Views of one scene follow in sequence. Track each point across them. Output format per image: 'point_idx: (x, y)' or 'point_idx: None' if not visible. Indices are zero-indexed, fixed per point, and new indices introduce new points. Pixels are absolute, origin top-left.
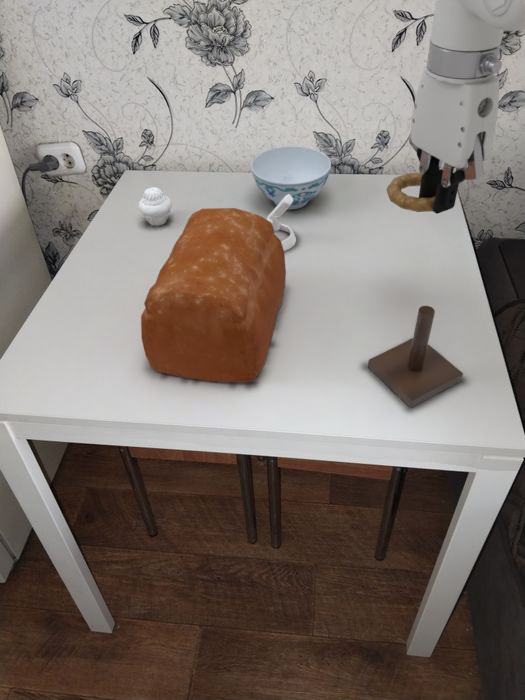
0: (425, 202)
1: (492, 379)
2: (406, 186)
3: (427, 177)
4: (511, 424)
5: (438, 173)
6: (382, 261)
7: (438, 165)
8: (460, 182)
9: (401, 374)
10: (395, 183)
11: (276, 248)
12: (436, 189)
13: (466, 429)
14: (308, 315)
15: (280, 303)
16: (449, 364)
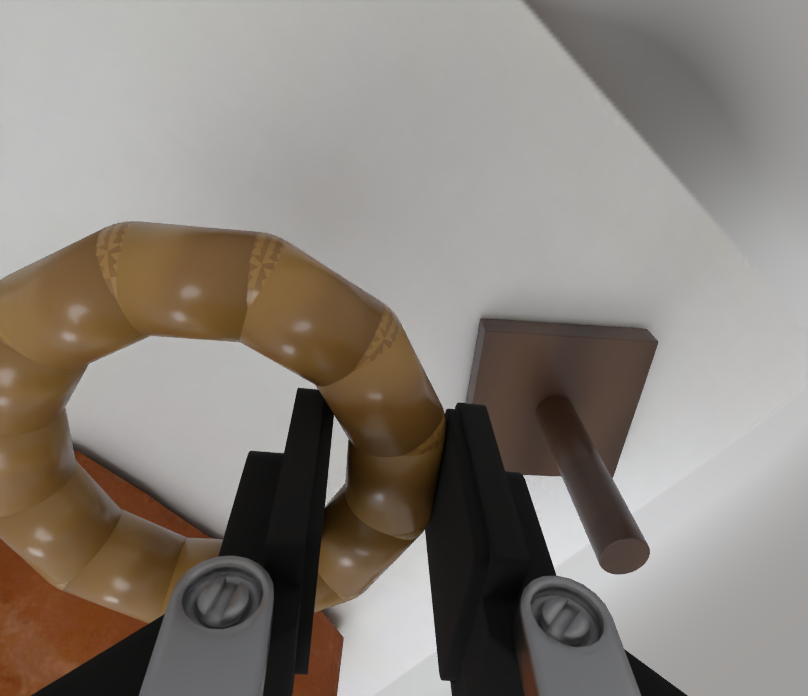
0: (379, 574)
1: (707, 264)
2: (69, 435)
3: (301, 669)
4: (801, 339)
5: (307, 587)
6: (81, 99)
7: (271, 644)
8: (577, 604)
9: (547, 449)
10: (70, 574)
11: (17, 608)
12: (437, 650)
13: (724, 417)
14: (217, 453)
15: (154, 510)
16: (615, 346)
